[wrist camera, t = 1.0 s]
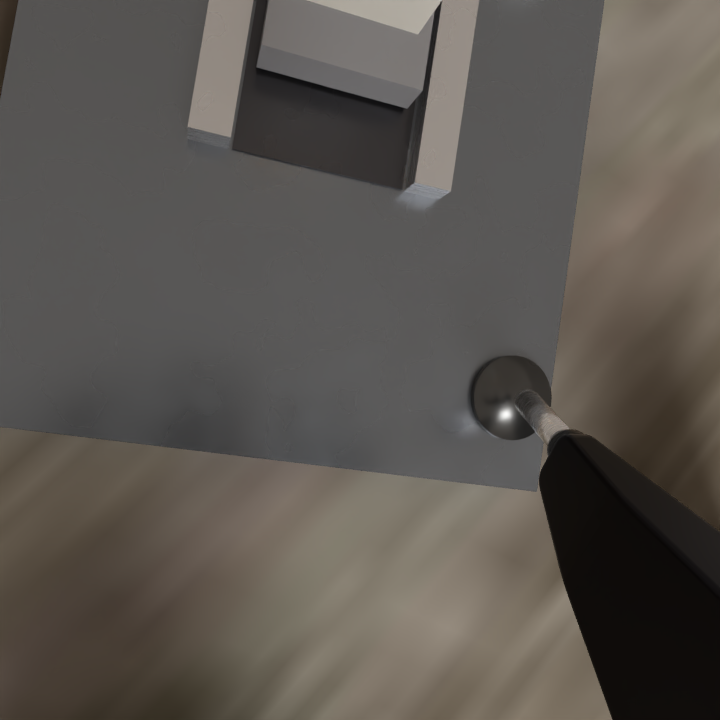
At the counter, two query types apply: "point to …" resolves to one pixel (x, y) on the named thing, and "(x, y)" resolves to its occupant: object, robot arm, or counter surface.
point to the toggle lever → (541, 418)
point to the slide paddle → (351, 45)
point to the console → (289, 236)
